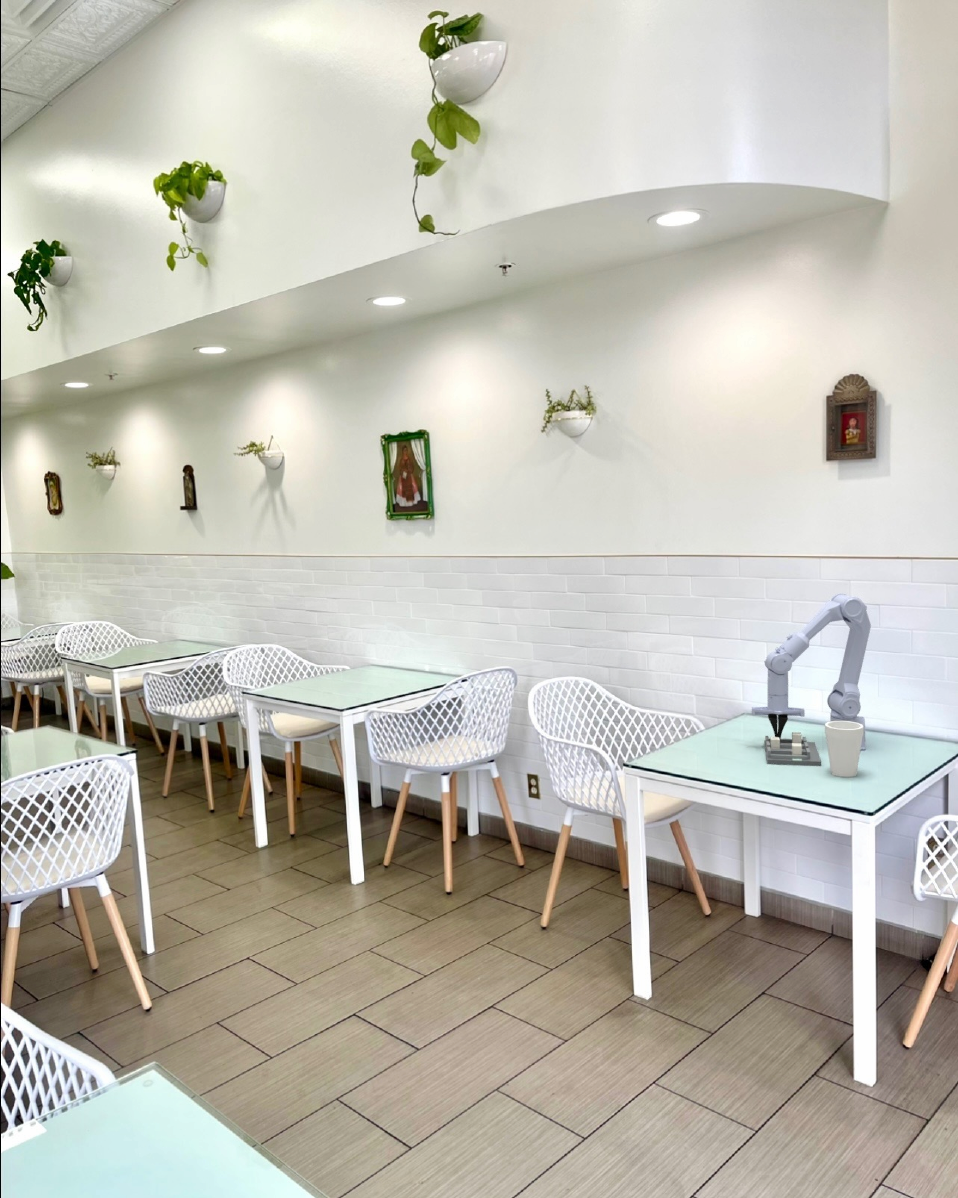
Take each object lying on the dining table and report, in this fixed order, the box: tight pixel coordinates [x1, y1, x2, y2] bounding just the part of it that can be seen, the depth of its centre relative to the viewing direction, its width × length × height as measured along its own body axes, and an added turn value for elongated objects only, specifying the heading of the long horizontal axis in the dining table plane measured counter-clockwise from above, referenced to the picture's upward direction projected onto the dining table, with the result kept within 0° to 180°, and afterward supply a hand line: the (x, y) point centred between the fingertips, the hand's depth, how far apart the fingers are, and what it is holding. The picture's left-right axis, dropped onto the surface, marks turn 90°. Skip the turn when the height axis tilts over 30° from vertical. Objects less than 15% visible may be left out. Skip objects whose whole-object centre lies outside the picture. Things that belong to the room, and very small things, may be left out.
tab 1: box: [769, 736, 780, 749], centre depth 268 cm, size 2×3×3 cm
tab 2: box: [791, 731, 802, 743], centre depth 272 cm, size 2×3×3 cm
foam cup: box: [824, 721, 864, 778], centre depth 248 cm, size 10×9×13 cm
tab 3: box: [792, 743, 802, 755], centre depth 261 cm, size 2×3×3 cm
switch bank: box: [764, 735, 822, 767], centre depth 267 cm, size 14×20×3 cm
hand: (777, 739), depth 274 cm, fingers closed
